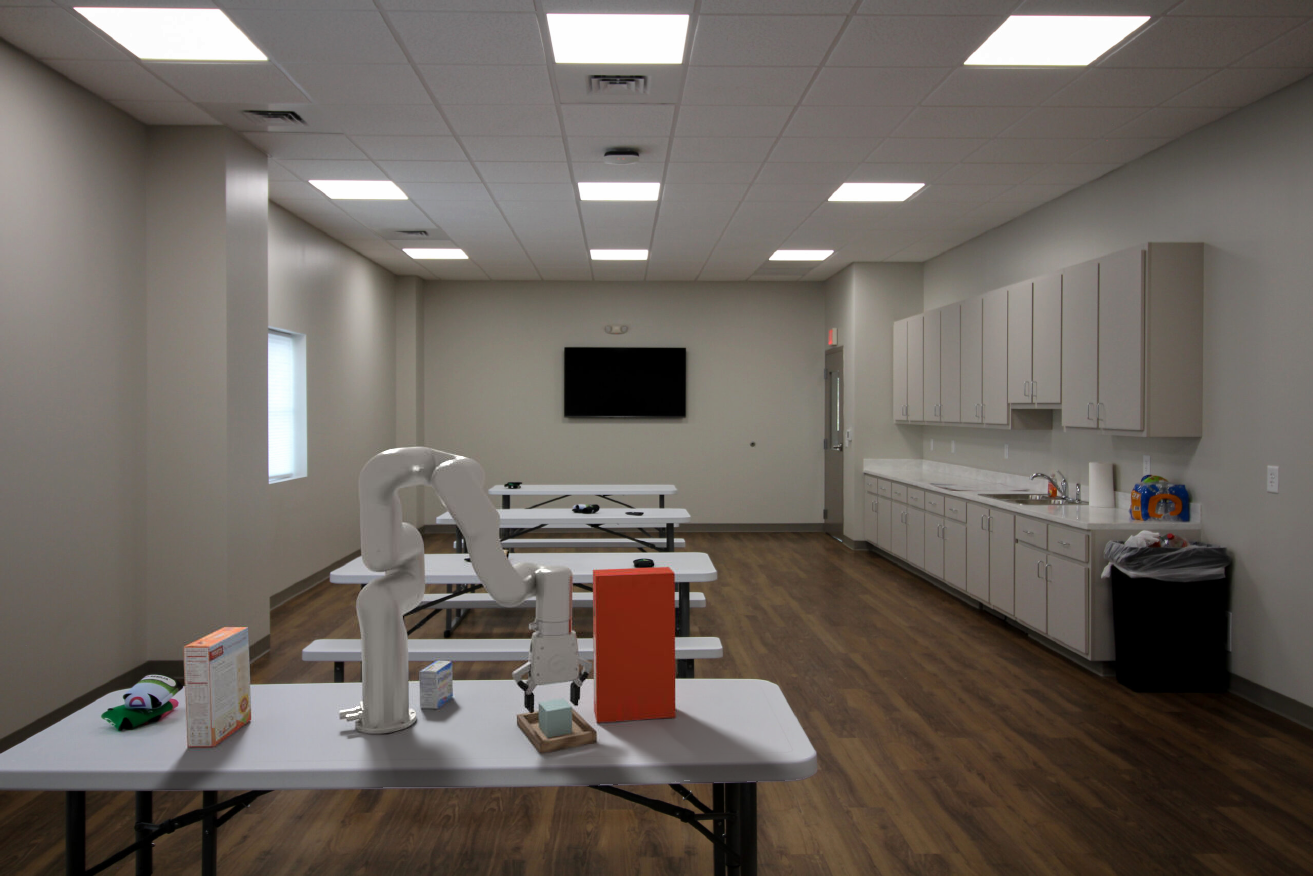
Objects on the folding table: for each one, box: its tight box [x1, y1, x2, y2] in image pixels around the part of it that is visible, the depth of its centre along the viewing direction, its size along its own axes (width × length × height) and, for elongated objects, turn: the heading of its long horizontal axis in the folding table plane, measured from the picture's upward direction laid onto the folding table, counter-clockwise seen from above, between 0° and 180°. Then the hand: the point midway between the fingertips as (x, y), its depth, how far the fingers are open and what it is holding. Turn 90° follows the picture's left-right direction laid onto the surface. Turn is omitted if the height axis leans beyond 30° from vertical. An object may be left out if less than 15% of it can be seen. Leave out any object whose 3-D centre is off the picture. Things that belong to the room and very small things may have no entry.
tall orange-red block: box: [592, 566, 676, 724], centre depth 171 cm, size 8×17×32 cm, turn 100°
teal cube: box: [538, 697, 573, 738], centre depth 161 cm, size 6×6×6 cm
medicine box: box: [418, 660, 454, 710], centre depth 178 cm, size 8×4×9 cm, turn 168°
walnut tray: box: [516, 707, 598, 755], centre depth 161 cm, size 12×16×2 cm
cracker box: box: [182, 626, 252, 748], centre depth 161 cm, size 14×6×21 cm, turn 178°
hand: (552, 707), depth 161 cm, fingers open, 9 cm apart
